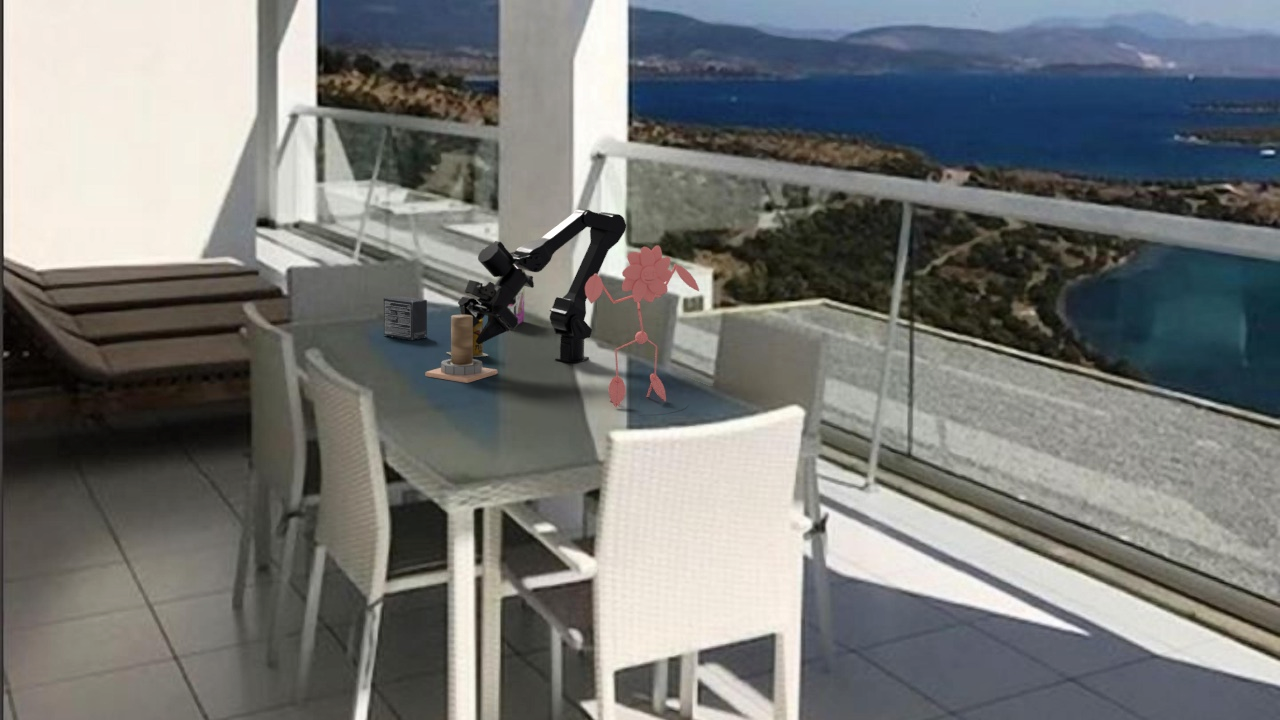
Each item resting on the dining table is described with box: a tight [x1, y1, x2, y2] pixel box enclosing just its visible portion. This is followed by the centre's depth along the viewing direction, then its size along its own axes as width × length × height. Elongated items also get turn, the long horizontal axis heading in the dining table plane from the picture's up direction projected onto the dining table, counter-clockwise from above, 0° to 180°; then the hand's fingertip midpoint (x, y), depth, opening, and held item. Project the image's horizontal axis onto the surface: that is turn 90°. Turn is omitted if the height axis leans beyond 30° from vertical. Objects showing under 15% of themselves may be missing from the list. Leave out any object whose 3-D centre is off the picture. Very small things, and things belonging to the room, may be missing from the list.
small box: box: [383, 295, 428, 341], centre depth 347 cm, size 11×6×10 cm, turn 58°
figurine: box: [585, 245, 700, 408], centre depth 275 cm, size 15×26×35 cm, turn 118°
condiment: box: [446, 309, 489, 358], centre depth 326 cm, size 7×8×12 cm
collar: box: [424, 358, 498, 384], centre depth 304 cm, size 12×12×3 cm
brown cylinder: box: [450, 314, 474, 366], centre depth 303 cm, size 5×5×13 cm
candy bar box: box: [508, 265, 526, 327], centre depth 369 cm, size 11×5×16 cm, turn 172°
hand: (466, 339), depth 304 cm, fingers open, 9 cm apart
